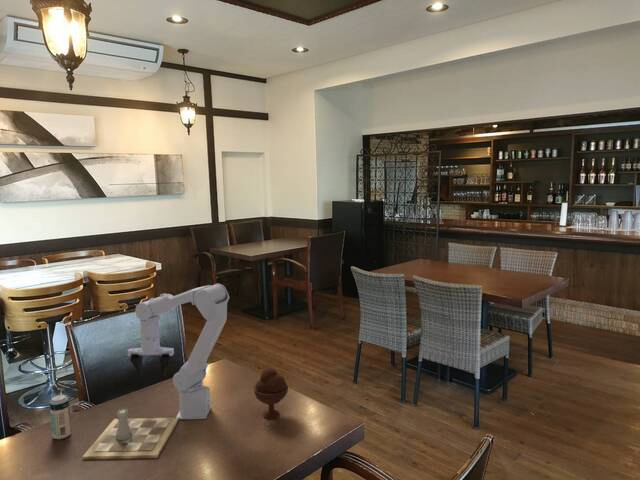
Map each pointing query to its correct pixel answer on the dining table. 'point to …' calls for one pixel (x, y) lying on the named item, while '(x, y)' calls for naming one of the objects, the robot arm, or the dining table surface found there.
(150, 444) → the chessboard
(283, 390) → the ice cream bowl
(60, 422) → the white labeled bottle
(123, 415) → the rook chess piece
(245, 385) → the dining table surface
